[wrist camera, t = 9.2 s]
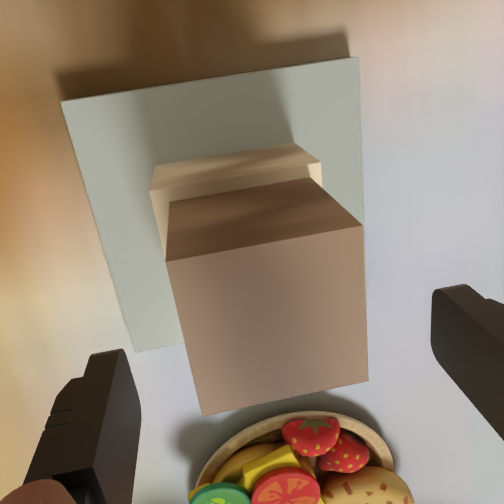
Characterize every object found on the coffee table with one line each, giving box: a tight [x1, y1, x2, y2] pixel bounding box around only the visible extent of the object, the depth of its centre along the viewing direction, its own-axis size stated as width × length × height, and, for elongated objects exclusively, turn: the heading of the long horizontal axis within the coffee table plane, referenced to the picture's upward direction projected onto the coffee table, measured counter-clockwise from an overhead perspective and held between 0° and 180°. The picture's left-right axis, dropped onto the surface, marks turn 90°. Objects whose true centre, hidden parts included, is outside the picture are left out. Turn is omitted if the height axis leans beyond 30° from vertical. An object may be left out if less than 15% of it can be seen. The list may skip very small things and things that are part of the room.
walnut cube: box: [165, 177, 369, 416], centre depth 14 cm, size 5×5×5 cm
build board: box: [60, 57, 367, 353], centre depth 21 cm, size 12×12×1 cm
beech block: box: [149, 143, 323, 259], centre depth 18 cm, size 6×6×4 cm
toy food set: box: [188, 411, 414, 504], centre depth 28 cm, size 13×13×3 cm
